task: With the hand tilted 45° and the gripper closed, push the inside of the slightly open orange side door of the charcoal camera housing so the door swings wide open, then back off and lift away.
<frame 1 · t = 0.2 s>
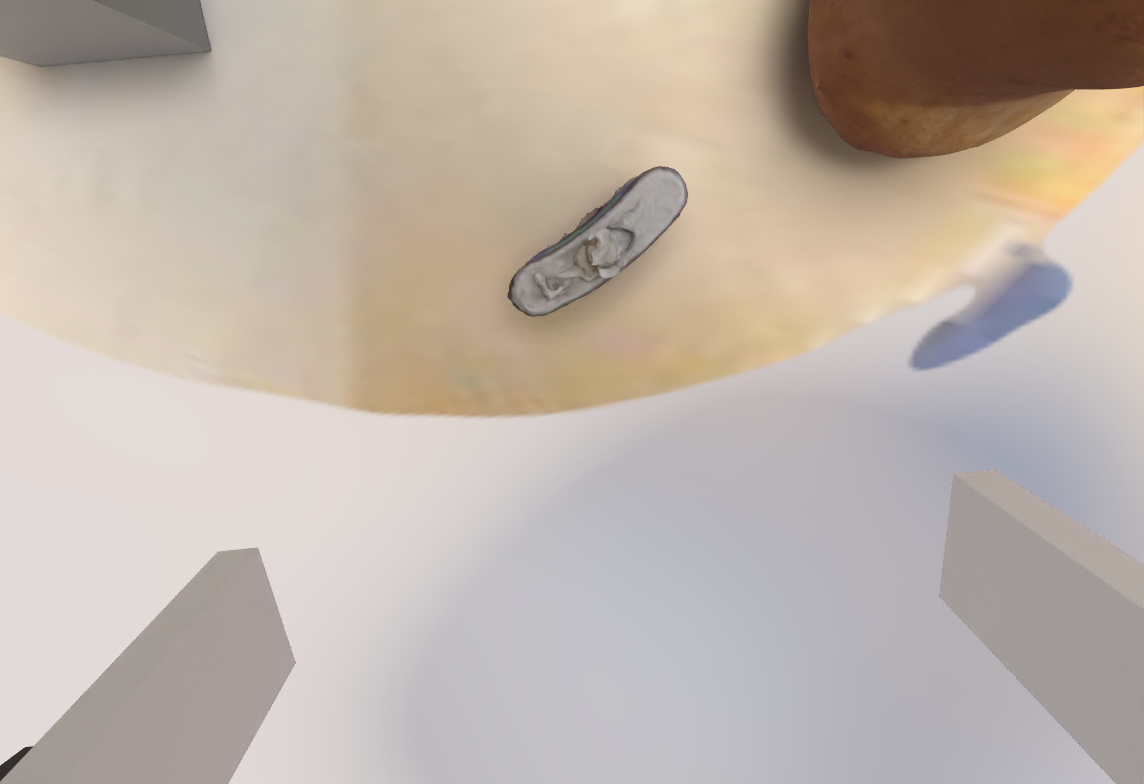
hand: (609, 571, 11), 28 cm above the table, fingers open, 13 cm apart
flask: (592, 238, 36), on the table
butternut squash: (882, 32, 33), on the table
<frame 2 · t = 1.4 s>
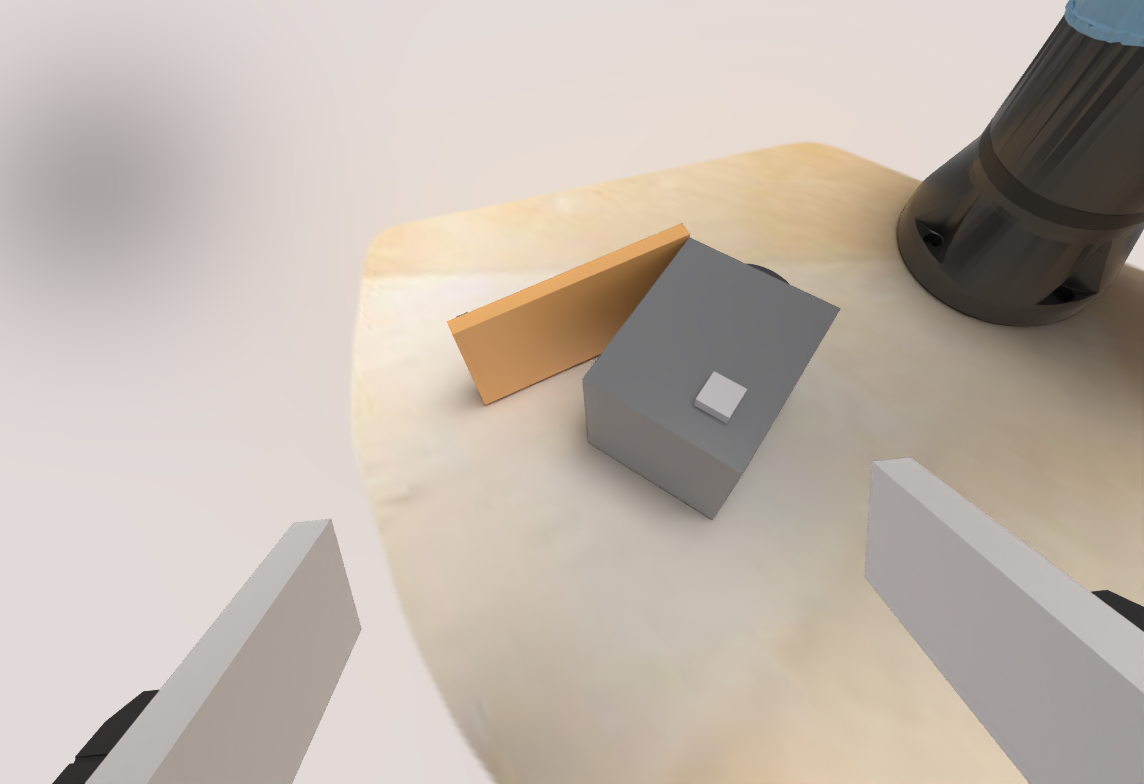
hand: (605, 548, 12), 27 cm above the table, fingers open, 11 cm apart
side door: (573, 317, 40), point 5 cm above the table, hinge at 30.0°, touching camera housing
camera housing: (691, 413, 42), on the table
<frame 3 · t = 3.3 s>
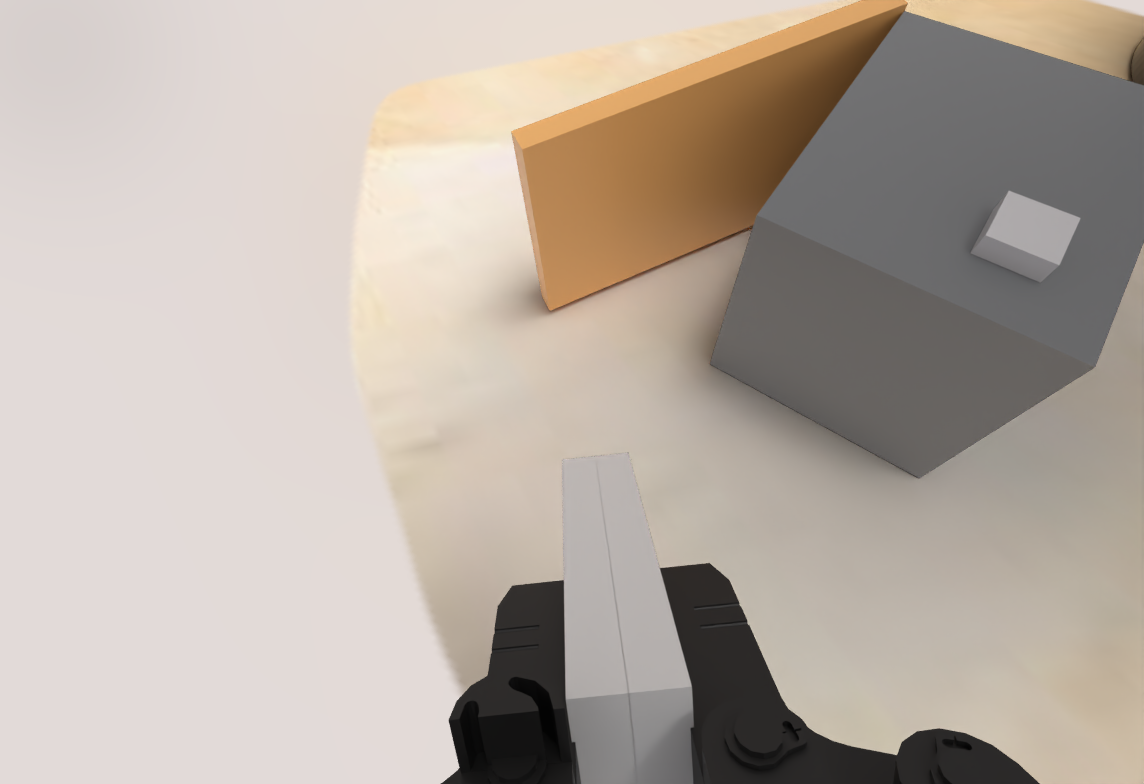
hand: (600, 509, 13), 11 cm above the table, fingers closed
side door: (694, 164, 26), point 5 cm above the table, hinge at 30.0°, touching camera housing
camera housing: (864, 322, 28), on the table
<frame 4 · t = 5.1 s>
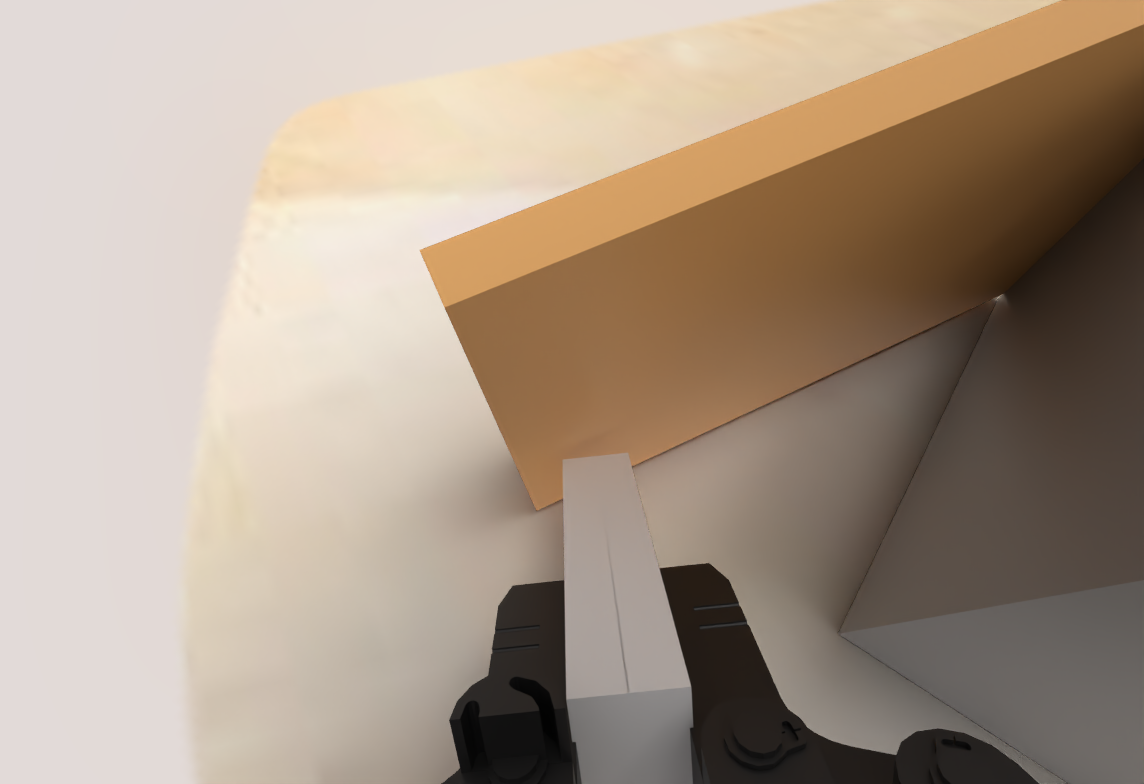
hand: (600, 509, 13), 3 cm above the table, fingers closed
side door: (821, 267, 13), point 5 cm above the table, hinge at 30.4°, touching camera housing, gripper
camera housing: (1119, 547, 15), on the table
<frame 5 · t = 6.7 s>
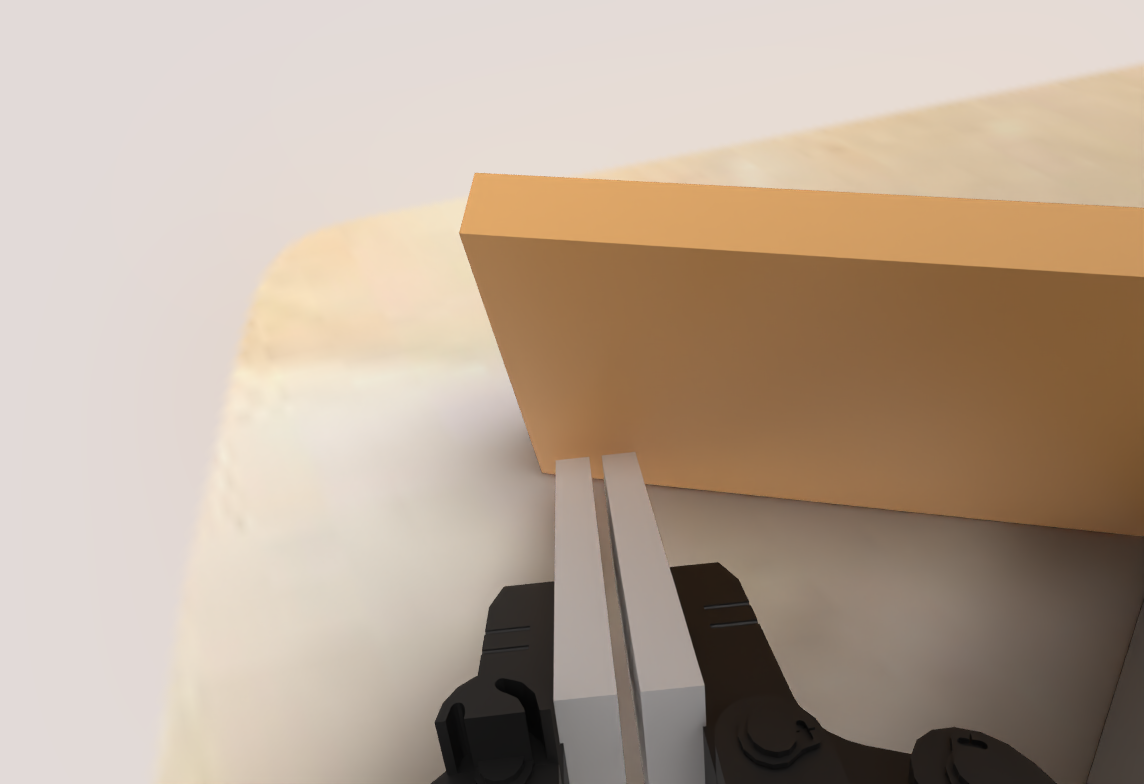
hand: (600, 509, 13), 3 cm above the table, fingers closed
side door: (930, 394, 11), point 5 cm above the table, hinge at 61.8°, touching camera housing, gripper
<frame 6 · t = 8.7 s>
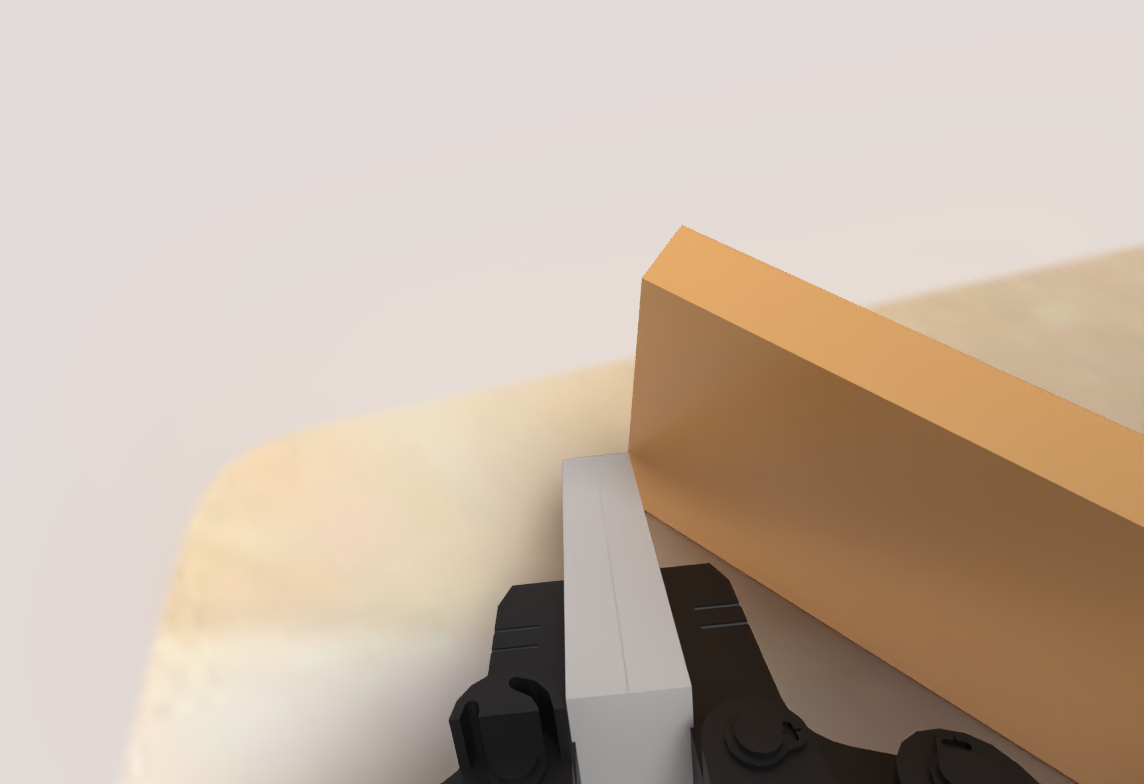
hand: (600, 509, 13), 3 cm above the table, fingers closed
side door: (1067, 627, 10), point 5 cm above the table, hinge at 89.4°, touching gripper
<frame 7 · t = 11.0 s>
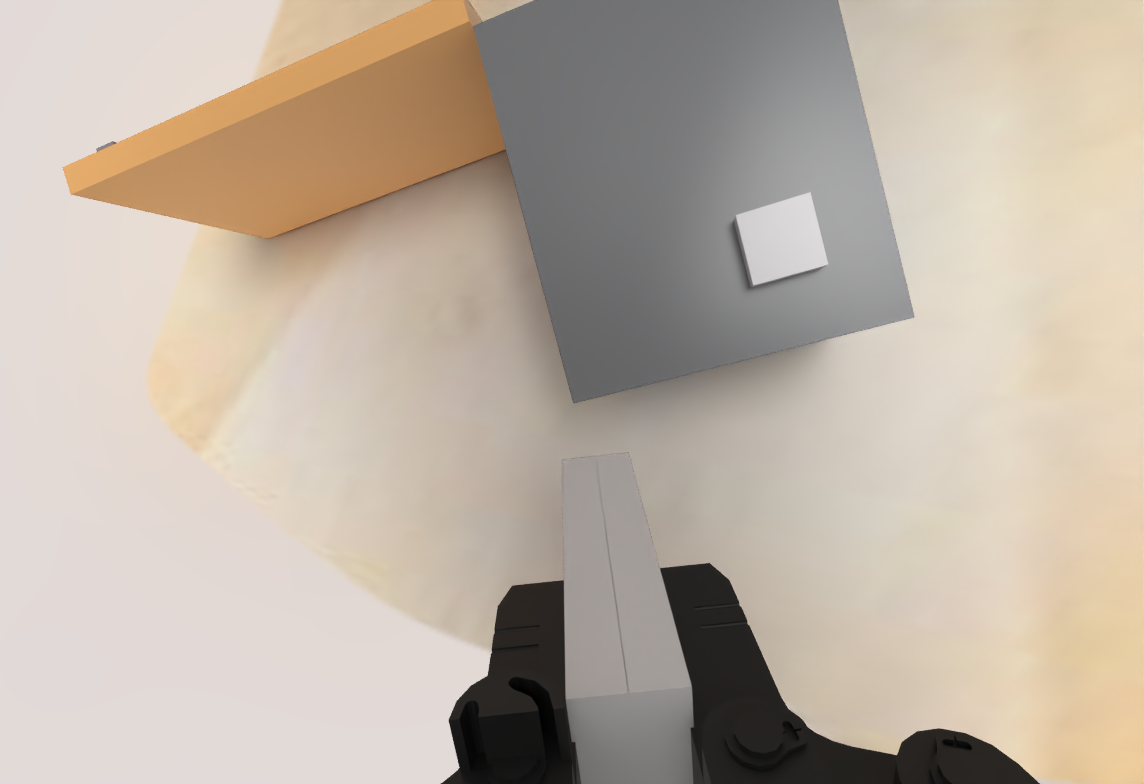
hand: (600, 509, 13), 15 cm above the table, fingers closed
side door: (334, 138, 24), point 5 cm above the table, hinge at 89.5°
camera housing: (686, 226, 27), on the table
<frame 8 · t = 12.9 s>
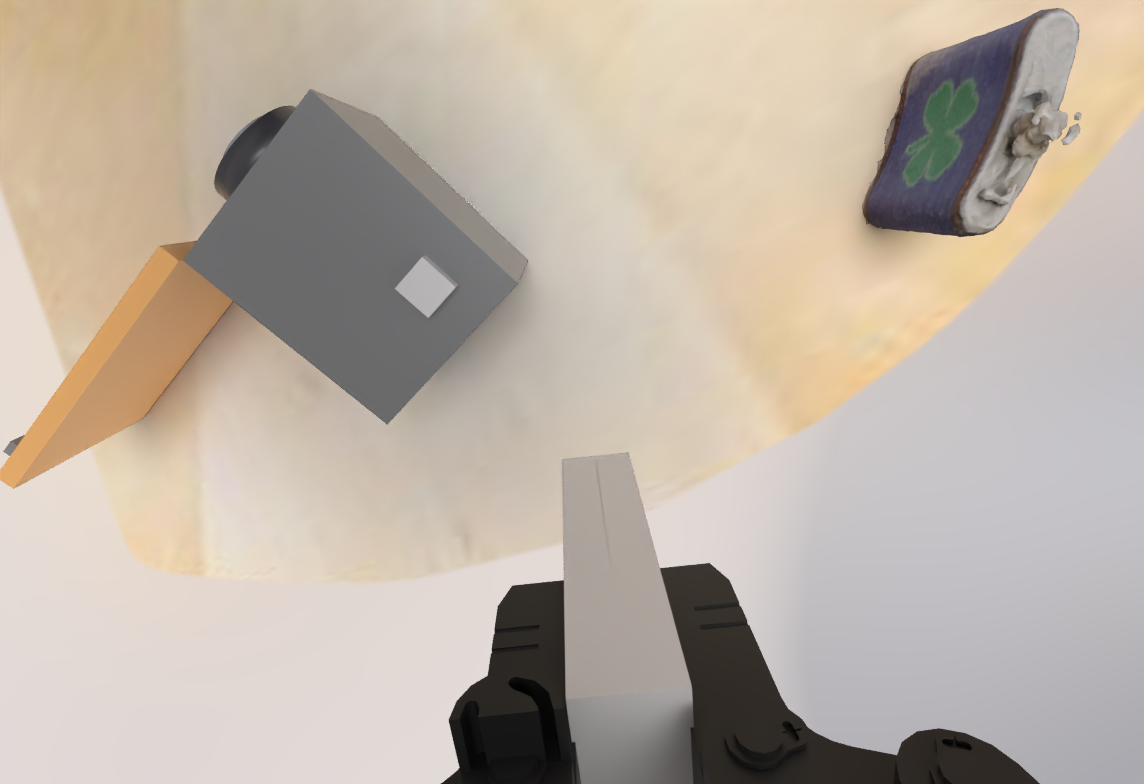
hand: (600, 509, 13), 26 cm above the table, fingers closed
flask: (903, 146, 36), on the table
side door: (142, 344, 33), point 5 cm above the table, hinge at 89.5°
camera housing: (404, 251, 37), on the table
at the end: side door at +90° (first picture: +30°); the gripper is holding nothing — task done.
